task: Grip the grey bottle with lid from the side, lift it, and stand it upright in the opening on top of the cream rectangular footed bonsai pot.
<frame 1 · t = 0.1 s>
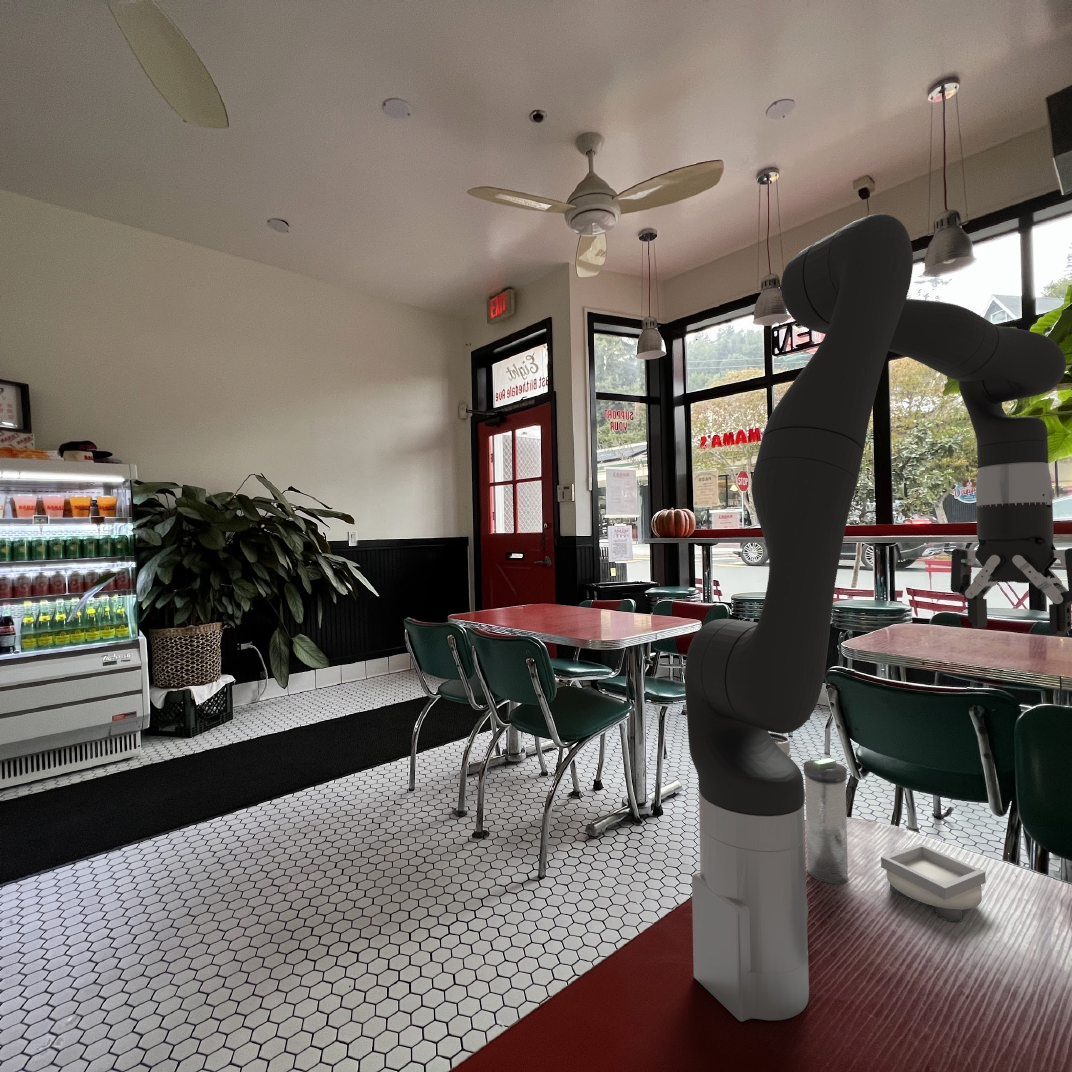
hand: (1017, 631, 75), 29 cm above the table, tool pointing down, fingers open, 8 cm apart
rectangular footed bonsai pot: (932, 898, 68), on the table
plastic bottle: (775, 930, 63), on the table
grey bottle with lid: (827, 873, 73), on the table
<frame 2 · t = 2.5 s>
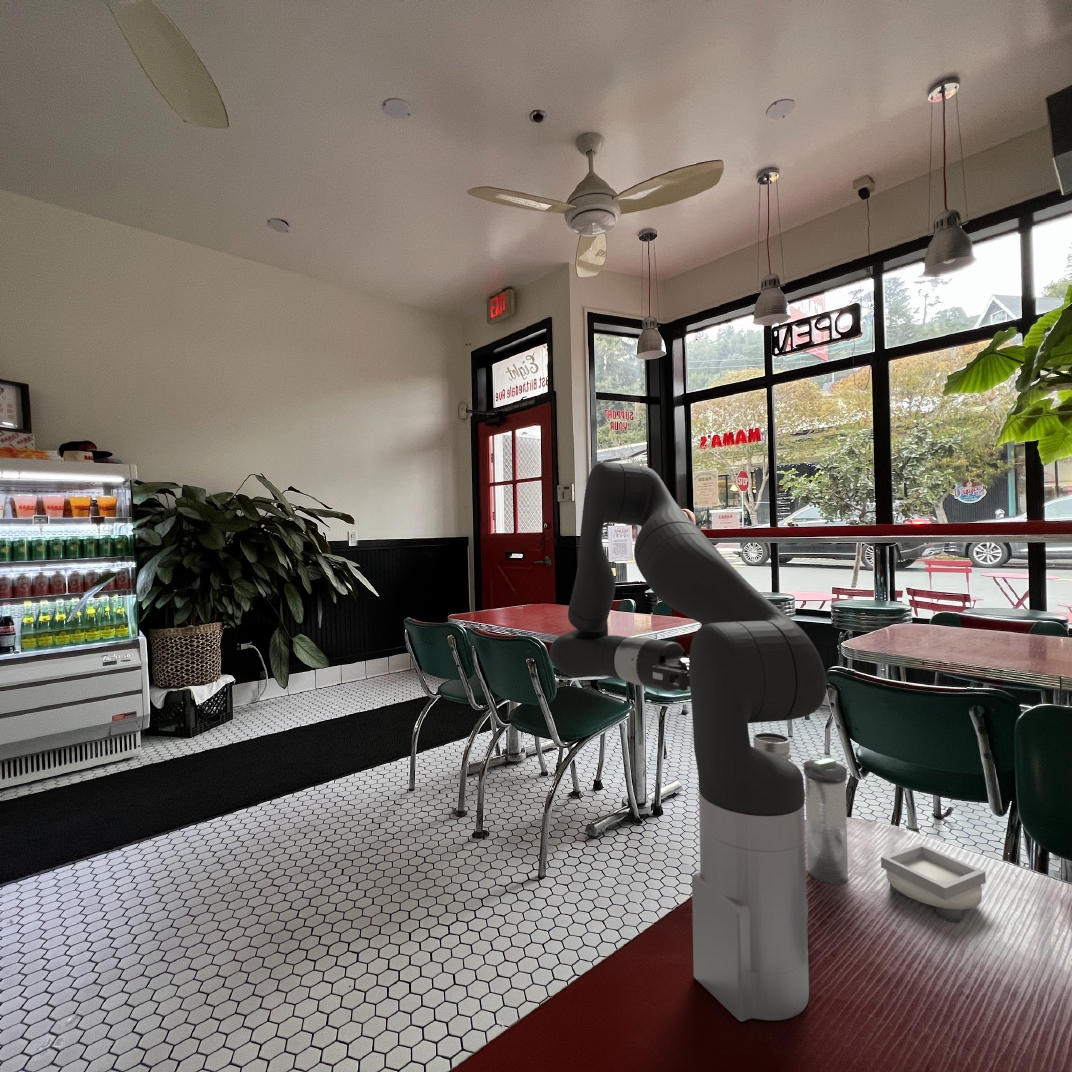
hand: (742, 679, 82), 22 cm above the table, tool horizontal, fingers open, 8 cm apart
nothing on the table moved.
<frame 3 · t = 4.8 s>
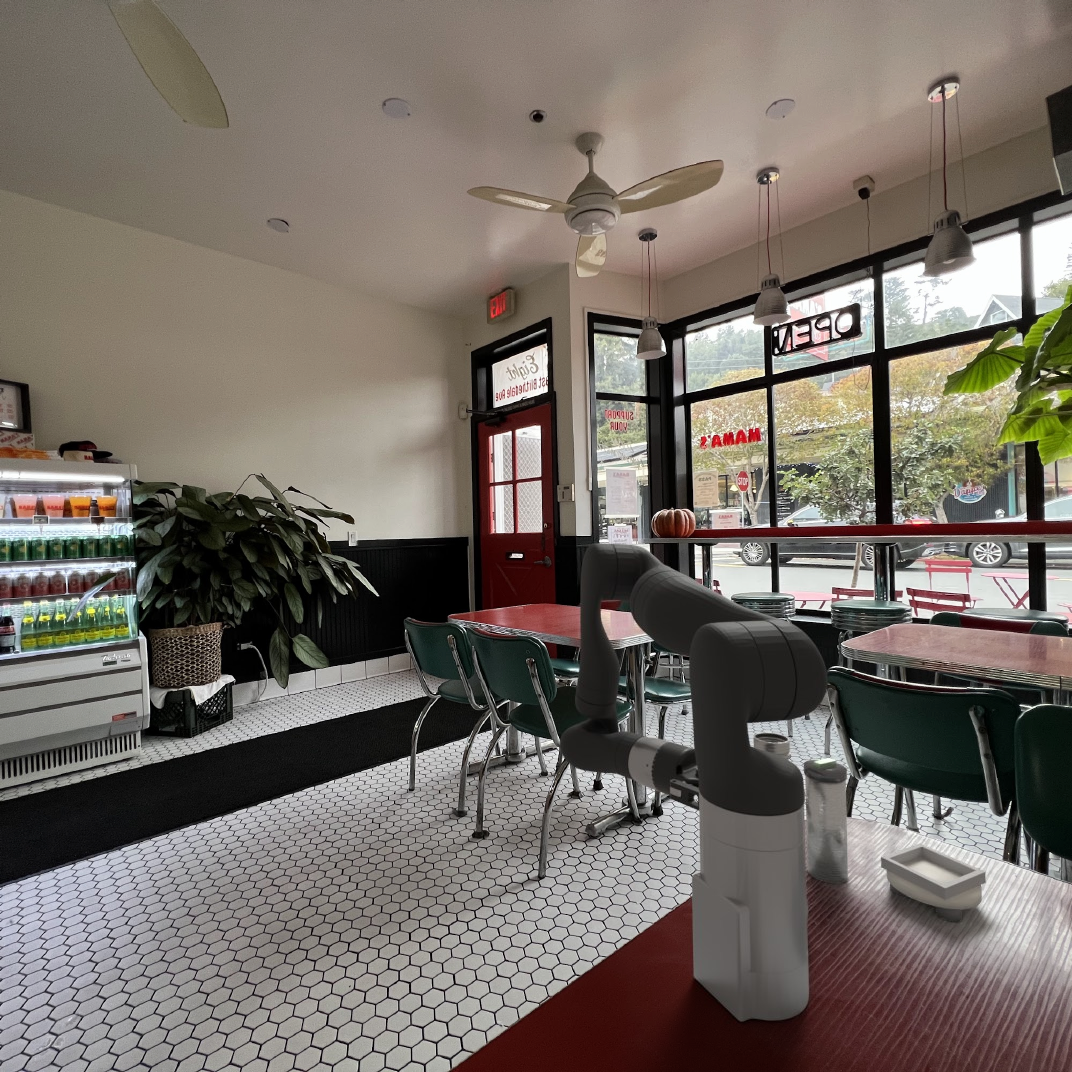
hand: (763, 798, 80), 7 cm above the table, tool horizontal, fingers open, 8 cm apart
nothing on the table moved.
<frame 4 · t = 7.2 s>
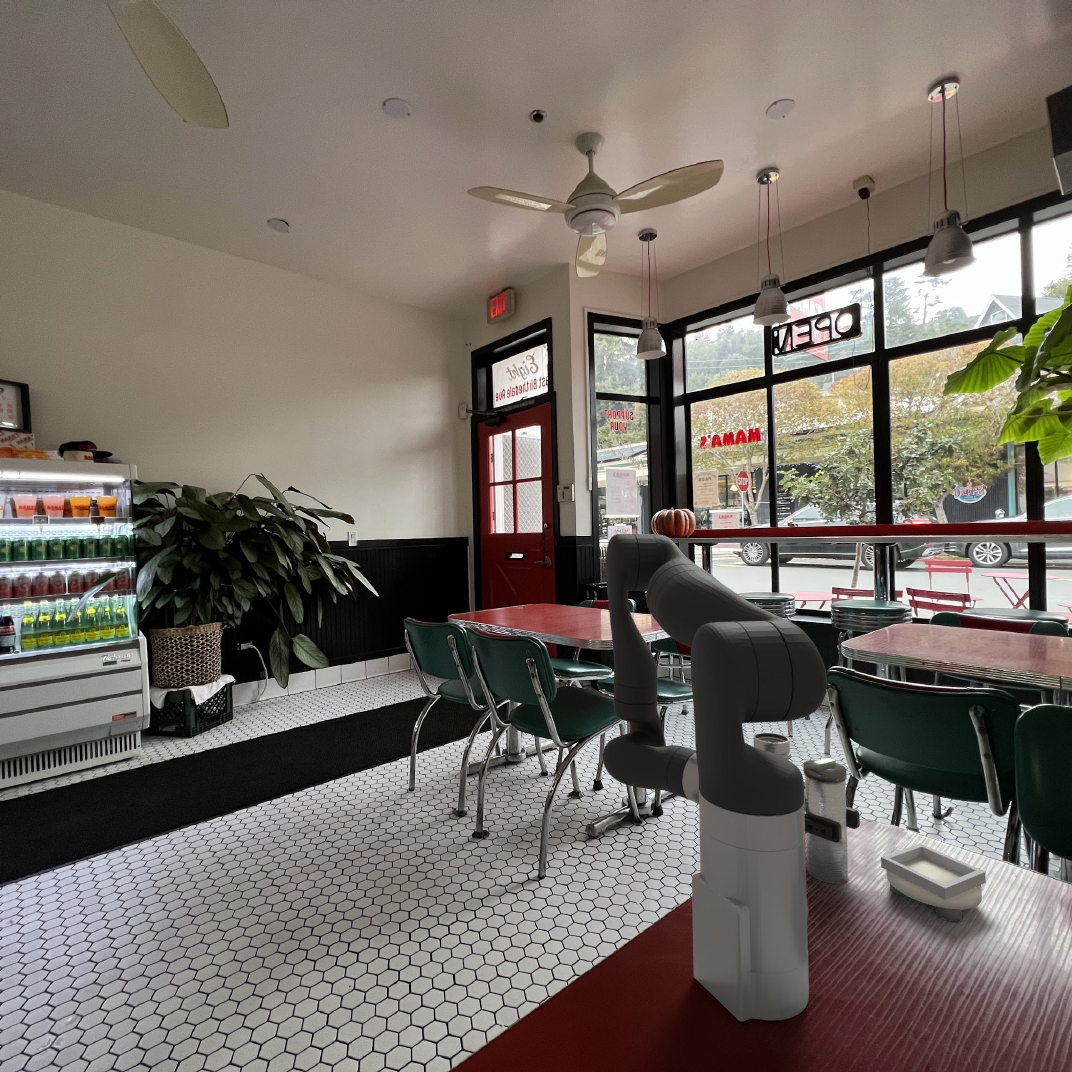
hand: (848, 826, 72), 7 cm above the table, tool horizontal, fingers closed on grey bottle with lid, 4 cm apart
grey bottle with lid: (827, 873, 74), on the table, touching gripper
everything else where it was.
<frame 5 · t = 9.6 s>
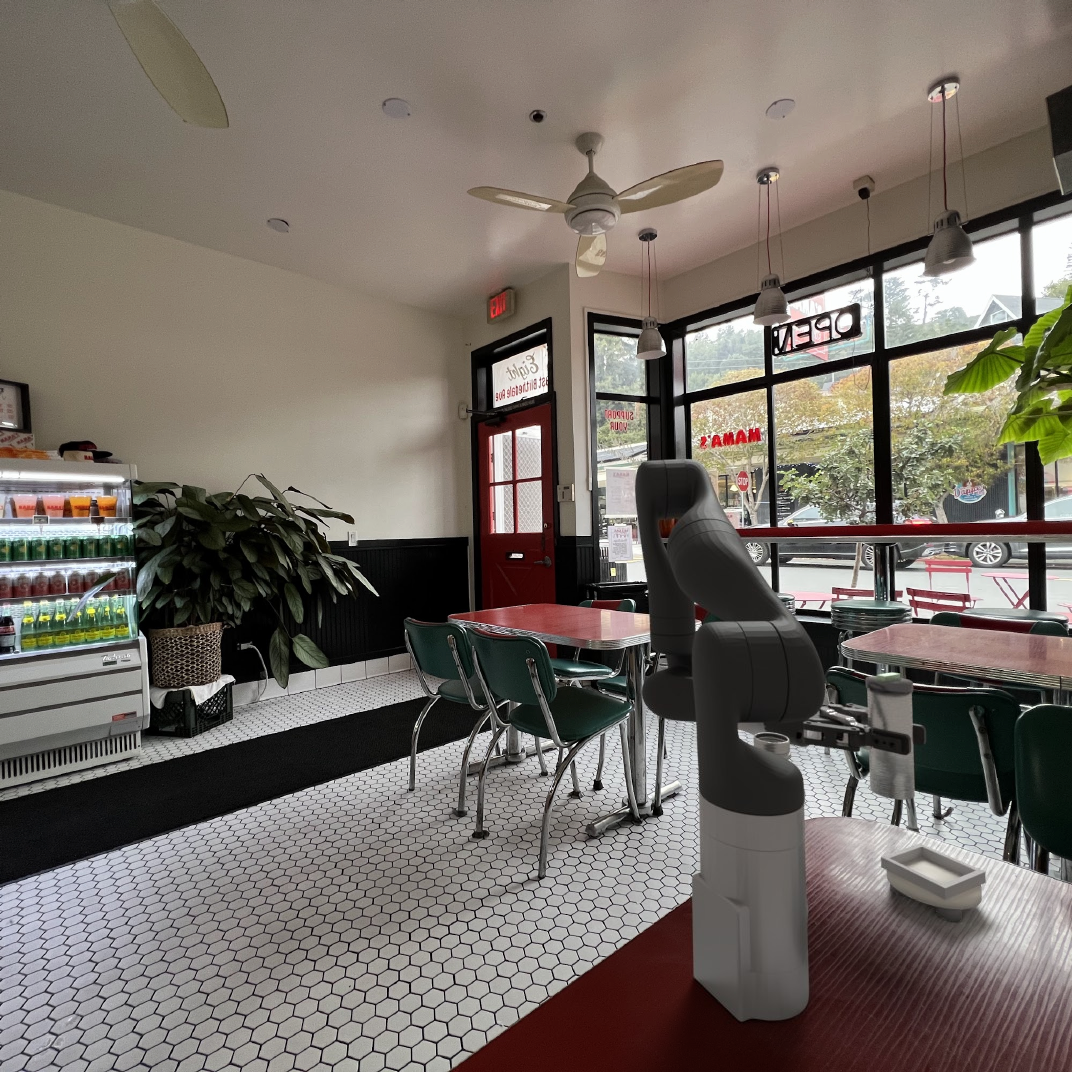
hand: (916, 740, 68), 18 cm above the table, tool horizontal, fingers closed on grey bottle with lid, 4 cm apart
grey bottle with lid: (892, 791, 70), point 11 cm above the table, touching gripper
everything else where it was.
when the fingers open (10 cm above the table, at t = 12.1 s): grey bottle with lid stays where it is, resting on rectangular footed bonsai pot.
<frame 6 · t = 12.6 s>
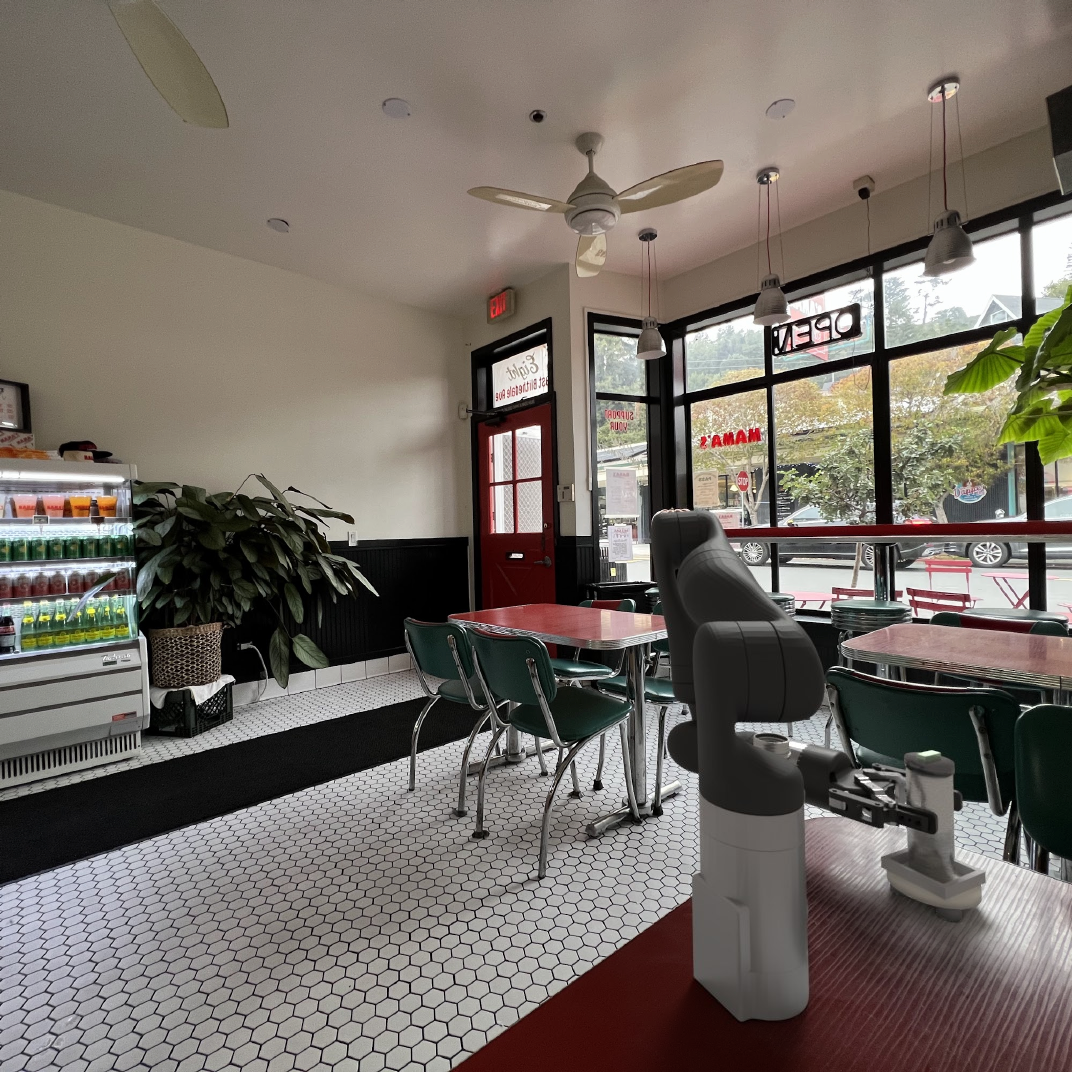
hand: (949, 812, 67), 10 cm above the table, tool horizontal, fingers open, 8 cm apart
grey bottle with lid: (931, 874, 68), point 3 cm above the table, touching rectangular footed bonsai pot
everything else where it was.
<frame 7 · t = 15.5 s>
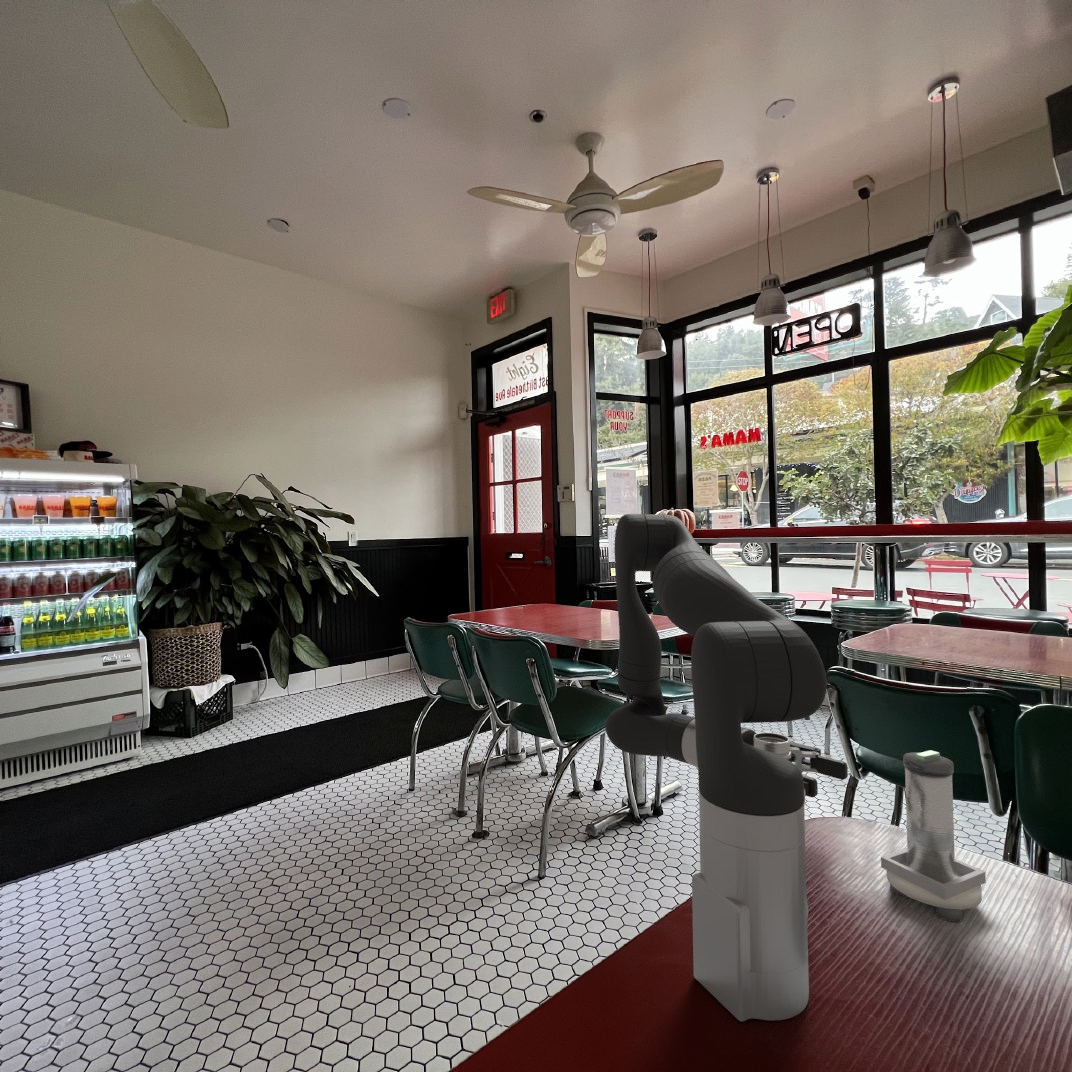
hand: (832, 779, 76), 10 cm above the table, tool horizontal, fingers open, 8 cm apart
nothing on the table moved.
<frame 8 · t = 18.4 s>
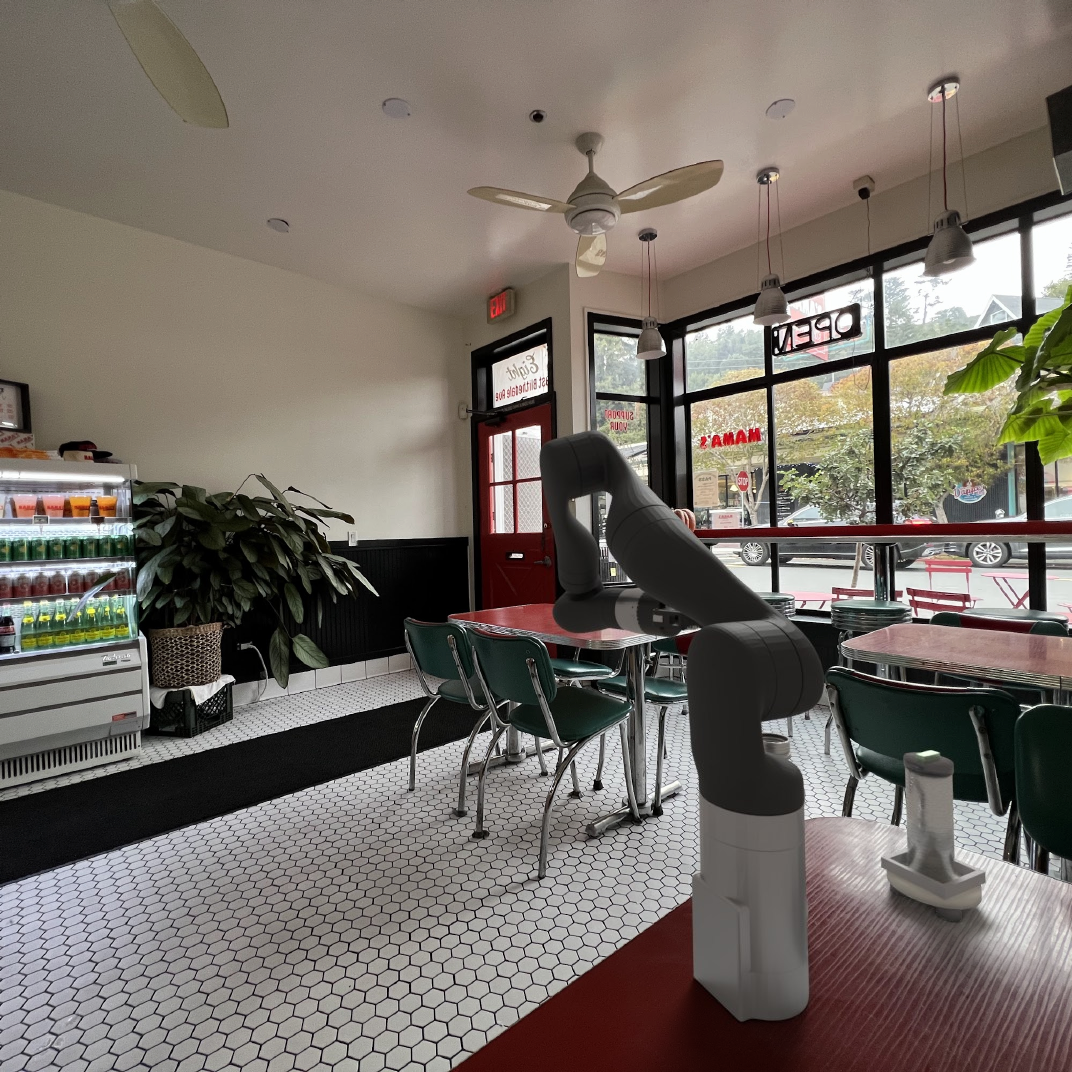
hand: (740, 619, 85), 30 cm above the table, tool horizontal, fingers open, 8 cm apart
nothing on the table moved.
at the end: grey bottle with lid 0.1 cm off-centre on the rectangular footed bonsai pot, point 2.7 cm above the rectangular footed bonsai pot's base; grey bottle with lid tilted 0°; the gripper is holding nothing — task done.
